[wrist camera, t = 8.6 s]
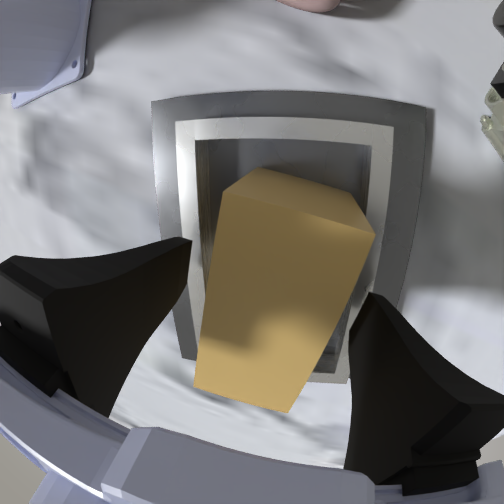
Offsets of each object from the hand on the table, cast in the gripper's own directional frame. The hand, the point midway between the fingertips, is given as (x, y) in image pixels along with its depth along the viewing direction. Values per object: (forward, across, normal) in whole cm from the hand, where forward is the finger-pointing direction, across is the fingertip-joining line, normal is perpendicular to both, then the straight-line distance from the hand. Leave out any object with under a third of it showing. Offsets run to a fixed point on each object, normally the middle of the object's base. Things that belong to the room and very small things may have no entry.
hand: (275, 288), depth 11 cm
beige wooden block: (+2, 0, 0) cm, 2 cm away
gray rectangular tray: (+3, 0, 0) cm, 3 cm away
